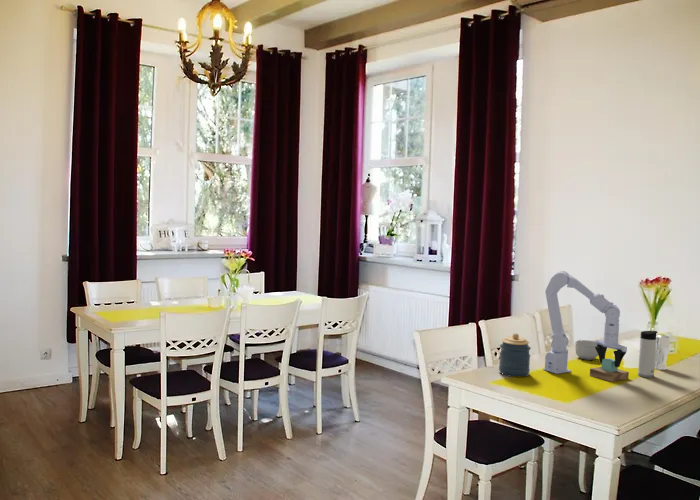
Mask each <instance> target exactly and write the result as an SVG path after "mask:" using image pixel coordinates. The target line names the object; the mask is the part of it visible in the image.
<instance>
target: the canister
mask: <svg viewBox="0 0 700 500" xmlns="http://www.w3.org/2000/svg"><path fill="white" fill-rule="evenodd" d="M501 342H502V343H501V344H499V348H500V352H499V364H498V365H499V366H498V372H499V371H500V372H501V373H503V374H506V375H510V376H509V377H511V376H525V377H528V376H529V374H530V372H531V371H530V370H531V369H530V362H531V359H530V358H531V354H530V350H531V346H530V345H529V344H530V341H528V340H527V339H526V338H523V337H520V336H519V334H518V333H513V334H512V336H506V337H505V338H503V339H502V340H501ZM500 372H499V373H500ZM501 373H500V374H501ZM503 374H502V375H503ZM506 375H505V376H506ZM527 375H528V376H527Z"/></svg>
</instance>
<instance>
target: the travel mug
mask: <svg viewBox="0 0 700 500" xmlns="http://www.w3.org/2000/svg"><path fill="white" fill-rule="evenodd" d="M657 334H658V331H657V330H643V331H641V332H640V337H639V338H640V339H639V351H638V352H639V355H638V372H637V376H639V377H641V378H645V379H652V378H654V377H655V369H654V366H655V350H656V335H657Z"/></svg>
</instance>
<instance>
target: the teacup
mask: <svg viewBox="0 0 700 500" xmlns="http://www.w3.org/2000/svg"><path fill="white" fill-rule="evenodd" d="M595 341H596V340H587V339H586V340H585V339H577V340H576V341H575V355H576V356H577V357H578V358H579V359H580V360H585V361H592V360H595V359H596V358H597V357H599V356H598V353H597V351H596V349H595V347H596V346H597V345H595Z"/></svg>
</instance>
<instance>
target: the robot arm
mask: <svg viewBox="0 0 700 500" xmlns="http://www.w3.org/2000/svg"><path fill="white" fill-rule="evenodd" d="M565 286H566V287H567V288H573V289H575V290H576V291H577V292H578V293H580V294H582V295H583V296H585V297H586V298H587V299H588V300H589V303H590V305H591V306H593V307H594V308H595V309H596V310H597V311H599V312H600V313H602V314H604V316H605V322H604V332H603V335H604V336H603V340H597V339H596V340H594V341H595V345H597V346H596V347H595V349H596V351H597V353H598V356H597V357H598V360H599V363H600V364H602V359H606V353H607V349H613V354H614V360H615V367H618V368H620V366H621V363H622V360H623V359H624V357H625V356H626V354H627V351H628V346H625V345H622V344H619V333H620V323H619V322H620V316H621V311H620V308H619V307H618V306H617V305H616V304H614V302H612V301H611V302H610V301H609V300H608V299H607V298H606V297H605V295H604V294H600V293H594V292H593V291H592V290H591V289H589V287H587V286H586V285H585V284H584V283H582V282H581V281H580V280H578V278H576V277H575V276H573V275H571V274H569V272H567V271H565V270H560V271H558V272H557V273H555V274H554V275H553V276H552V277H550V280H549V282H548V284H547V286H546V288H545V293H544V294H545V298H546V305H547V309H548V314H549V320H550V326H551V339H552V340H551V343H550V344H551V349H550V351H549V352H547V353H546V354H545V356H544V358H545V359H544V361H545V362H544V368H543V371H547V372H550V373H553V374H557V375H558V374H564V373H570V372H572V369H569V368H568V362H569V361H568V360H569V349H567V346H568V345H569V339H568V337H567V335H566V332H565V329H564V325H563V321H562V320H563V319H562V314H561V309H560V303H559V298H558V293H559V292H560V290H562V289H563V288H564V287H565Z"/></svg>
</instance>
